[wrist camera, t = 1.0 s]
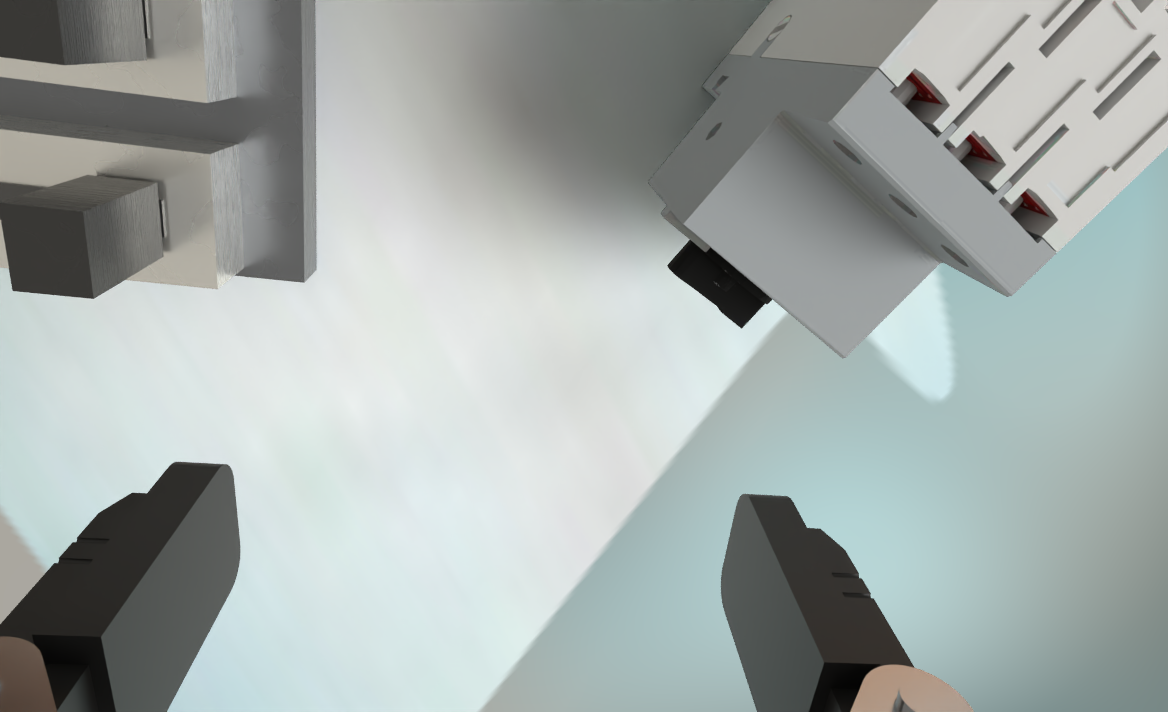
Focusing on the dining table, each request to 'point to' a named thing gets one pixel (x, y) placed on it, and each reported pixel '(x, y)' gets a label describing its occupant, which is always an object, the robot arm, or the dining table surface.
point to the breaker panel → (246, 120)
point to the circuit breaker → (909, 149)
